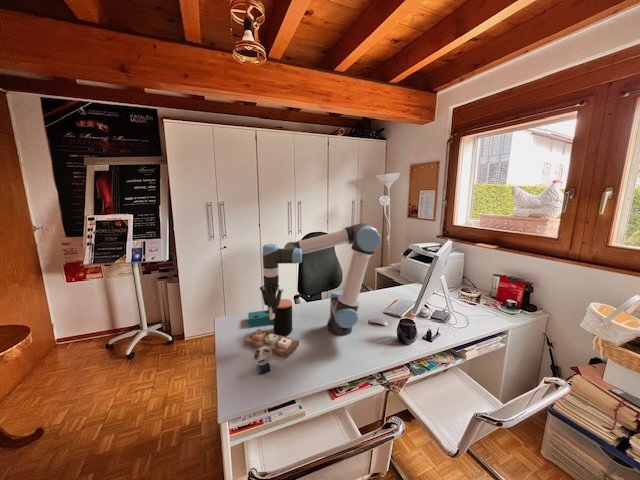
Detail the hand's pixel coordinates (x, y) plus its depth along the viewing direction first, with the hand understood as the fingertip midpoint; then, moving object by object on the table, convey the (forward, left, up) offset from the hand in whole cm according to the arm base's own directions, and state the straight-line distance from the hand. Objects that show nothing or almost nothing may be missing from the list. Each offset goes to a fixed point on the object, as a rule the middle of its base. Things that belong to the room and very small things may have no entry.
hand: (272, 318), depth 136 cm
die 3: (-8, +1, -14) cm, 16 cm away
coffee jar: (+2, -13, -15) cm, 20 cm away
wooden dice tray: (0, +1, -15) cm, 15 cm away
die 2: (0, +1, -14) cm, 14 cm away
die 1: (+8, +1, -14) cm, 16 cm away
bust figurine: (-8, +18, -15) cm, 25 cm away
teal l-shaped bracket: (+19, -18, -15) cm, 30 cm away
